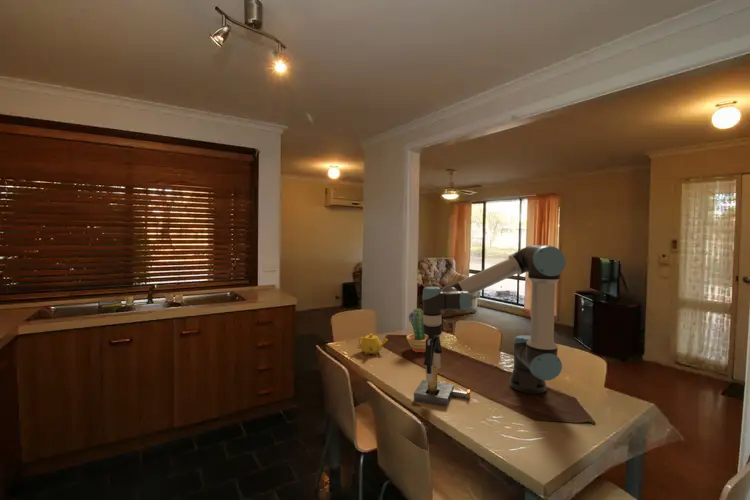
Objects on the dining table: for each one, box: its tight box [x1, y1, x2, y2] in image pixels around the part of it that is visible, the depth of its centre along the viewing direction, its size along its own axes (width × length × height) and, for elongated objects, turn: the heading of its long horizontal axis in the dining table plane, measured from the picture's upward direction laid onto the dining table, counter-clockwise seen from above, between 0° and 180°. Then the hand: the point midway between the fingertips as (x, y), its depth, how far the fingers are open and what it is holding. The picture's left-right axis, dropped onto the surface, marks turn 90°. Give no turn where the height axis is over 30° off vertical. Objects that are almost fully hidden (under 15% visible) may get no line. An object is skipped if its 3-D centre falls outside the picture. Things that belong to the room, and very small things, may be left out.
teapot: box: [357, 333, 389, 356], centre depth 204 cm, size 14×14×11 cm
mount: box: [413, 379, 455, 408], centre depth 149 cm, size 14×14×4 cm
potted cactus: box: [406, 308, 428, 353], centre depth 207 cm, size 15×15×25 cm
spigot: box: [428, 365, 438, 395], centre depth 146 cm, size 4×4×14 cm
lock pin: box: [452, 389, 471, 400], centre depth 150 cm, size 13×3×3 cm, turn 67°
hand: (433, 374), depth 146 cm, fingers open, 13 cm apart
